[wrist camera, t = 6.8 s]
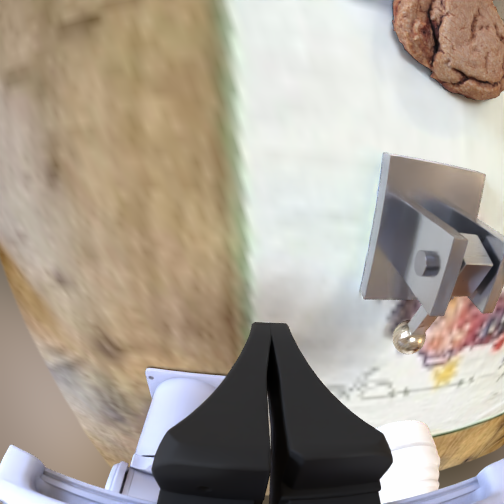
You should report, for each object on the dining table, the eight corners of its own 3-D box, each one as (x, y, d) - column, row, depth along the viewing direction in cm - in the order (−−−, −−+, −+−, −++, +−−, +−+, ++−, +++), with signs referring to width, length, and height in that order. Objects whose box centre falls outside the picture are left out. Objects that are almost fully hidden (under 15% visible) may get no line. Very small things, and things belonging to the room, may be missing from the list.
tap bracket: (446, 291, 22) (490, 347, 15) (359, 290, 22) (390, 358, 15) (476, 170, 18) (543, 199, 11) (383, 152, 18) (441, 174, 11)
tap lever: (412, 330, 23) (419, 358, 21) (385, 331, 23) (390, 361, 21) (478, 233, 15) (496, 266, 13) (446, 229, 15) (464, 265, 13)
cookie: (467, 128, 17) (492, 132, 14) (357, 15, 14) (372, 1, 12) (518, 50, 13) (542, 49, 10) (425, -52, 11) (443, -66, 8)
